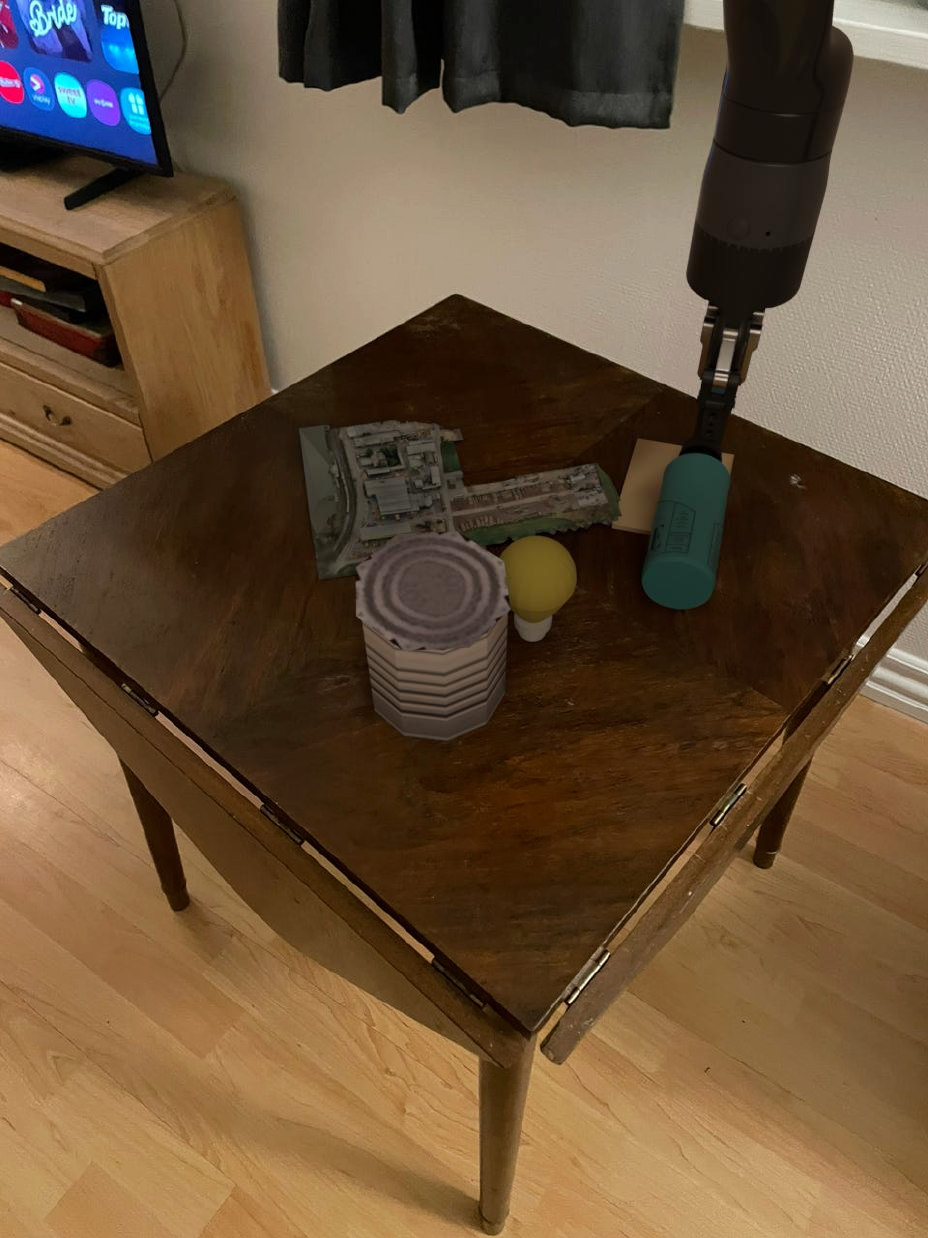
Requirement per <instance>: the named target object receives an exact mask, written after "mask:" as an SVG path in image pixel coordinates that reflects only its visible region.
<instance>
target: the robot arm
mask: <svg viewBox="0 0 928 1238" xmlns="http://www.w3.org/2000/svg"><path fill="white" fill-rule="evenodd" d="M835 1H836V0H722V16H723V18H722V19H723V34H724V42H725V51H726V53H725V55H726V64H725V71H724V74H723V80H722V85H721V92H720V97H719V102H718V108H717V115H716V121H715V126H714V131H713V137H712V141H711V145H710V149H709V153H708V156H707V159H706V162H705V166H704V169H703V172H702V178H701V182H700V188H699V194H698V199H697V206H696V207H697V208H696V213H695V217H694V224H693V230H692V236H691V242H690V248H689V254H688V260H687V264H686V265H687V266H686V271H685V278H686V282H687V284H688V287H689V288H690V289H691V290H692V292H694V293H695V294H696V295H697V296H698V297H699V298H700V299H703V300H704V301H708V302H707V307H706V312H705V315H704V317H703V322H702V327H701V333H700V337H699V341H700V344H701V345H702V347H701V350H700V356H699V360H698V361H699V362H698V367H697V372H696V375H697V377H698V378H699V381H700V387H699V390H698V394H697V395H696V401H695V403H696V404H697V407H696V409H698V411H697V417H696V422H695V427H694V431H693V439H694V440H695V441H696V442H698V443H703V444H709V445H715V446H717V445H721V444H722V443H723V441H724V437H725V432H726V428H727V423H728V419H729V415H730V414H732V411H733V410H734V409H735V407H736V404H737V402H736V400H737V393H738V389H739V387H741V386H742V384H744V383H745V382H746V381H747V377H748V373H749V368H750V364H751V360H752V357H753V353H754V352H756V351H757V349H758V347H759V344H760V339H761V336H762V330H763V326H764V323H763V322H764V318H765V313H766V309H774V308H777V307H780V306H782V305H784V304H786V303H788V302H789V301H791V300H793V298H794V297H795V296H796V295H797V294H798V292H799V291H800V289H801V287H802V286H801V285H802V281H803V279H804V275H805V274H804V273H805V271H806V267H807V264H808V259H809V256H810V253H811V248H812V244H813V240H814V238H815V234H816V229H817V226H818V222H819V217H820V214H821V211H822V206H823V203H824V199H825V195H826V192H827V187H828V181H829V176H830V165H831V159H832V154H833V149H834V145H835V142H836V138H837V135H838V131H839V126H840V123H841V120H842V115H843V111H844V108H845V103H846V99H847V96H848V92H849V89H850V88H849V87H850V83H851V78H852V73H853V67H854V60H855V58H854V57H855V56H854V55H855V54H854V47H853V43H852V42H851V40H850V38H849V36H848V35H847V34H846V33H845V32H844V31H842V30H841V29H840V28H838V27H837V26H834V25H833V21H834V12H835V11H834V10H835Z"/></svg>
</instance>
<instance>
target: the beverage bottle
mask: <svg viewBox="0 0 928 1238" xmlns="http://www.w3.org/2000/svg"><path fill="white" fill-rule="evenodd" d="M693 436H694V435H693ZM693 436H690V437H689V438H686V440H685V441H684V442H683V444H682V445H681V446H682V448H681V451H680V453H679V456H678V457H677V458H675V459H674V460H672V461H671V462H670V463H669V464H668V465H667V467H666V468H665V471H664V474H663V482H662V487H661V491H660V496H659V501H658V504H657V508H656V512H655V514H654V515H655V516H653V517H654V518H652V519H653V520H654V521H652V522H653V526H652V525H651V526H652V530H651V535H647V536H648V538H647V539H646V543H647V544H646V545H645V550H644V555H643V559H642V563H641V567H642V570H640V572H639V573H641V576H639V579H640V581H641V584H642V588H643V590H644V593H645V594H646V595H647V596H648V597H649V599H651V600H652V601H653V602H655V603H657V604H659V605H660V606H663V607H665V608H669V609H673V610H689V609H694V608H698V607H700V606H702V605H704V604H705V603H706V602H707V601H709V599H710V598H711V596H712V595H713V594H714V592H715V588H717V585H716V583H718V578H719V571H720V566H721V559H722V558H721V557H722V556H721V554H722V550H723V549H722V548H723V541H724V540H723V536H724V534H725V532H724V531H725V530H726V529H725V528H724V522H725V517H726V509H727V503H728V496H729V490H730V487H731V475H729V472H728V470H727V468H726V467H725V466H724V465H723V463H722V453H723V449H722V445H721V444H720V445H717V446H715V445H709V444H703V443H698V442H696V441H695V440H694V439H693ZM655 507H656V506H655ZM651 524H652V523H651ZM651 526H650V527H651ZM649 532H650V531H649Z"/></svg>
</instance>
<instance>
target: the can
mask: <svg viewBox="0 0 928 1238" xmlns="http://www.w3.org/2000/svg"><path fill="white" fill-rule="evenodd" d="M499 558H500V557H498V556H496V555H495V554H493V553H491V552H490V551H488V549H487V550H485V549H484V548H482V547H481V546H479V545H478V544H476V543H475V542H473V541H471V540H470V539H468V538H467V537H465V536H464V535H462V534H461V533H459V532H434V533H408V534H397V535H396V536H395V537H393V538H392V539H391V540H390V541H388V542H387V543H386V544H385V545H383V546H382V547H381V548H380V549H378V550H377V551H376V552H375V553H373V554H372V555H371V556H370V557H368V558H367V559H366V560H365V561H363V562H362V563H361V564H360V565H358V566H357V567H356V574H355V616H356V617H357V618H358V619H360V620H361V623H362V630H363V637H364V638H363V639H364V644H365V651H366V652H365V653H366V658H367V665H368V666H367V667H368V673H369V679H370V680H369V681H370V687H371V695H372V702H373V709H374V712H375V713H376V714H377V715H379V716H380V717H381V718H382V719H383V720H385V721H386V722H387V723H388V724H389V725H390V726H391V727H393V728H394V729H395V730H396V731H398V732H399V733H400V734H401V735H402V736H404V737H411V738H419V739H427V740H436V741H443V742H449V741H451V740H453V739H456V738H458V737H460V736H463V735H465V734H468V733H470V732H472V731H475V730H477V729H479V728H481V727H483V726H486V725H488V723H489V721H490V720H491V717H492V716H493V714H494V713H495V711H496V709H497V708H498V706H499V705H500V703H501V701H502V699H503V698H504V697H505V695H506V677H507V651H508V650H507V646H508V619H509V618H508V617H509V614H508V613H509V612H510V611H511V608H510V601H509V594H508V587H507V579H506V572H505V565H504V561H502V560H501V559H499Z"/></svg>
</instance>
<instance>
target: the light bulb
mask: <svg viewBox="0 0 928 1238" xmlns="http://www.w3.org/2000/svg"><path fill="white" fill-rule="evenodd" d="M498 558H499V559H501V560H502V561H504V565H505V572H506V579H507V587H508V594H509V601H510V608H511V609H510V611H512V613H513V614H514V615H513V616H514V617H513V625H514V627H515V629H516V631H518V634H519V637H520V638H521V639H523V640H524V641H526V642H539V641H541V640H543V639H544V637H545V636H546V634H547V633H548V632H549V631H550V630H551V627H552V624H553V615H554V614H556V613H557V612H558V611H559V610H560V609H561V608H562V607H563V606H564V604H566V603H567V602H568V600H570V599H571V597H572V596H573V595H574V592H575V589H576V587H577V582H578V578H577V576H578V575H577V567H576V563H575V561H574V559H573V557H572V555H571V554H570V551H568V549H567V548H566V547H565V546H564V545H563V544H561V543H560V542H559V541H557V540H555V539H553V538H550V537H547V536H543V535H536V536H528V537H524V538H521V539H519V540H517V541H513V542H511V544H510V545H508V546H507V547H506V548H504V550H503V551H502V552H501V553H500V555H499V557H498Z"/></svg>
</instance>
